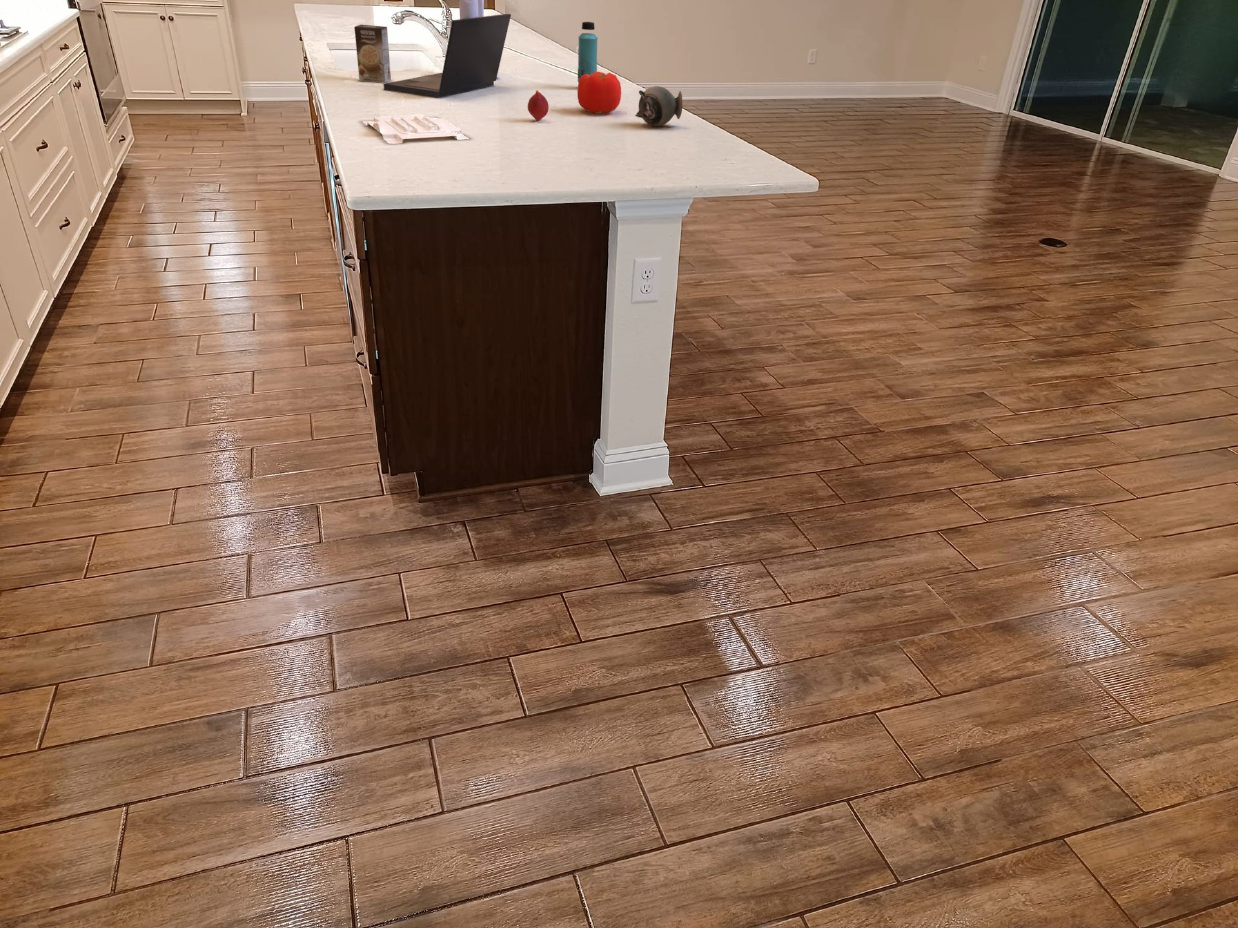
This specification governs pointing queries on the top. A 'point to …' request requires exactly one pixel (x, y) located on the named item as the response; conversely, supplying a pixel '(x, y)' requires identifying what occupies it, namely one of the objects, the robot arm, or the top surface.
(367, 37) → the coffee box
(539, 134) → the top surface
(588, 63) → the beverage bottle
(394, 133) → the tray
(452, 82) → the laptop screen
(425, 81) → the laptop
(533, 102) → the onion
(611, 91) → the tomato
